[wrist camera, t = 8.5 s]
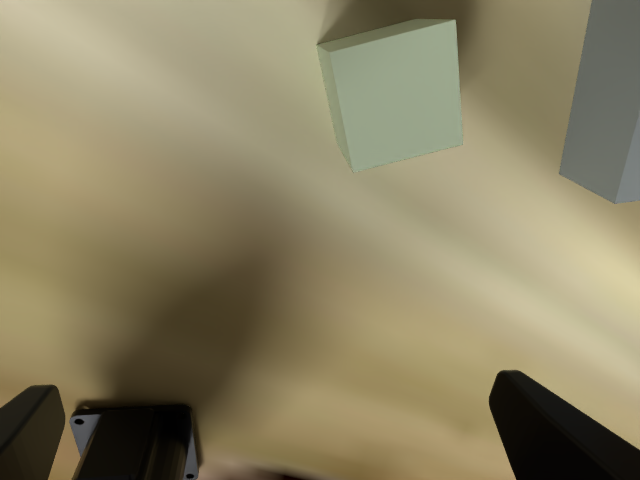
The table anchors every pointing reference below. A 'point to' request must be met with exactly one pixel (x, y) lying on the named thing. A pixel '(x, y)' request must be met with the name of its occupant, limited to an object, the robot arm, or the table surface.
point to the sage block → (394, 91)
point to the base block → (607, 105)
